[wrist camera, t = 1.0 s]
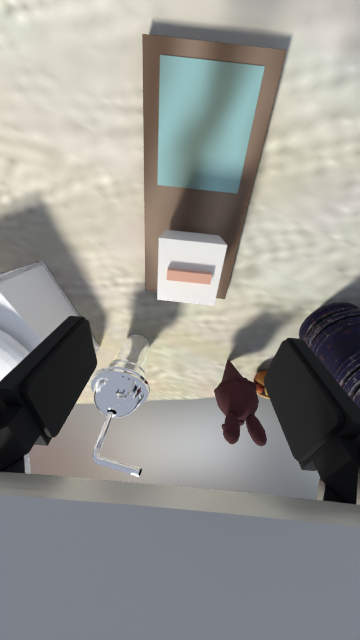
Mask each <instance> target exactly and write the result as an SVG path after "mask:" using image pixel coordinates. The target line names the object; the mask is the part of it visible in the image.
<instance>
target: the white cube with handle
mask: <svg viewBox="0 0 360 640" xmlns="http://www.w3.org/2000/svg"><path fill="white" fill-rule="evenodd" d="M226 249H227V244H226V243H225V242H224V241H223V239H222V238H221V237H220V236H219V235H211V234H202V233H193V232H183V231H174V230H165V231H164V233H163V234H162V235H161V236H160V237H159V248H158V286H157V300H165V301H175V302H184V303H194V304H204V305H213V306H214V304H215V300H216V295H217V290H218V286H219V281H220V277H221V272H222V267H223V263H224V258H225V253H226Z"/></svg>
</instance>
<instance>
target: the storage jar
mask: <svg viewBox="0 0 360 640" xmlns="http://www.w3.org/2000/svg"><path fill="white" fill-rule="evenodd" d="M299 338H300V339H302V340H303V341H304V342H305V343H306V344H307V345H308V347H309V348H310V349H311V350H312V351H313V353H314V354H315V355H316V356H317V358H318V359H319V360H320V361H321V362H322V364H323V365H324V366H325V367H326V368H327V370H328V371H329V372H330V373H331V375H332V376H333V377H334V378H335V379H336V381H337V382H338V383H339V384H340V386H341V387H342V388H343V389H344V390H345V392H346V393H347V394H348V395H349V397H350V398H351V399H352V400H353V401H354V403H355V404H356V405H357V406H358V407H359V409H360V308H358V307H357V306H355V305H353V304H350V303H334V304H330V305H327V306H324V307H322V308H320V309H318V310H316V311H315V312H313V313H312V314H311V315H309V316H308V317H307V318H306V319H305V321H304V322H303V323H302V325H301V327H300V330H299Z"/></svg>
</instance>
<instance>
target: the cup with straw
mask: <svg viewBox="0 0 360 640" xmlns="http://www.w3.org/2000/svg"><path fill="white" fill-rule="evenodd" d="M148 352H149V342H148V340H147V339H146V338H145V337H143V336H141V335H131V336H129V337H128V338H127V339H126V341H125V342H124V343H123V345H122V346H121V348H120V349H119V351H118V352H117V354H116V355H115V357H114V358H113V359H112V361H111V362H110V363H109V364H108V365H107V366H106V367H105V368H102V369H100V370H98V371H97V372H96V373H95V374H94V376H93V379H92V382H91V388H92V391H93V395H94V402H95V405H96V407H97V408H98V410H99V411H100V412H101V413H103V414H104V415H106V416H107V418H106V420H105V423H104V425H103V427H102V430H101V432H100V435H99V438H98V440H97V443H96V445H95V448H94V450H93V460H94V462H95V463H96V464H98V465H102V466H105V467H109V468H112V469H115V470H118V471H122V472H125V473H129V474H132V475H135V476H140V474H141V471H142V469H141V468H139V467H135V466H132V465H128V464H125V463H122V462H118V461H114V460H111V459H108V458H104V457H101V456H100V450H101V447H102V444H103V441H104V439H105V436H106V433H107V431H108V428H109V425H110V422H111V420H112V417H114V418H119V417H123V416H127V415H129V414H130V413H132V412H133V411H134V410H135V409H136V408H137V407H138V406H139V405H141V404H142V403H144V402H145V401H146V399H147V398H148V395H149V393H150V386H149V384H148V382H147V380H146V368H147V360H148Z"/></svg>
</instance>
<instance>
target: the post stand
mask: <svg viewBox="0 0 360 640" xmlns="http://www.w3.org/2000/svg"><path fill="white" fill-rule="evenodd" d="M285 54H286V50H281V49H272V48H263V47H254V46H245V45H236V44H228V43H219V42H210V41H201V40H192V39H183V38H174V37H165V36H156V35H147V34H143V118H144V203H145V288H146V291H154V292H157V286H158V248H159V237H160V236H161V235H162V234H163V233H164V231H165V230H174V231H183V232H193V233H202V234H211V235H219V236H220V237H221V238H222V239H223V241H224V242H225V243H226V244H227V249H226V253H225V258H224V263H223V267H222V272H221V277H220V281H219V286H218V290H217V295H216V298H220V299H225V297H226V293H227V289H228V285H229V281H230V277H231V273H232V268H233V264H234V260H235V256H236V252H237V248H238V244H239V240H240V236H241V232H242V228H243V224H244V220H245V216H246V212H247V208H248V204H249V200H250V196H251V192H252V188H253V184H254V179H255V175H256V171H257V167H258V163H259V159H260V155H261V151H262V147H263V143H264V139H265V135H266V131H267V127H268V123H269V119H270V115H271V111H272V107H273V103H274V99H275V95H276V90H277V86H278V82H279V78H280V74H281V70H282V66H283V62H284V58H285Z"/></svg>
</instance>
